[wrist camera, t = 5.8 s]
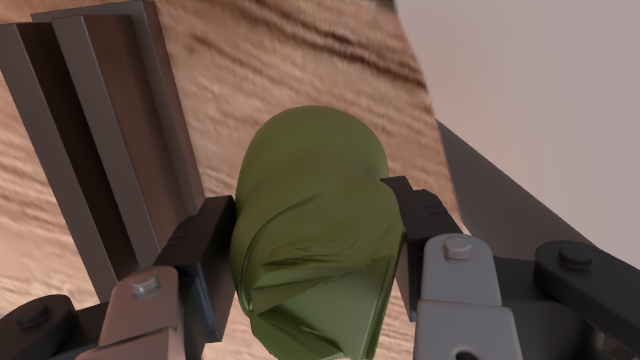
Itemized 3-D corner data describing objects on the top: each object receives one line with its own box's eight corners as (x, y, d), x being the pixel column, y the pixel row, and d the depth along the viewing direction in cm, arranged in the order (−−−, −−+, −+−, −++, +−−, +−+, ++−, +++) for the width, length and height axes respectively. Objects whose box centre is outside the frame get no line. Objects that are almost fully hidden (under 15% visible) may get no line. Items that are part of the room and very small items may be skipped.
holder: (153, 0, 18) (97, -5, 13) (218, 249, 24) (196, 312, 19) (49, 14, 19) (-46, 14, 14) (138, 259, 24) (94, 324, 19)
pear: (261, 80, 16) (186, 172, 6) (391, 103, 16) (497, 222, 7) (246, 204, 18) (173, 410, 8) (360, 222, 18) (411, 435, 9)
